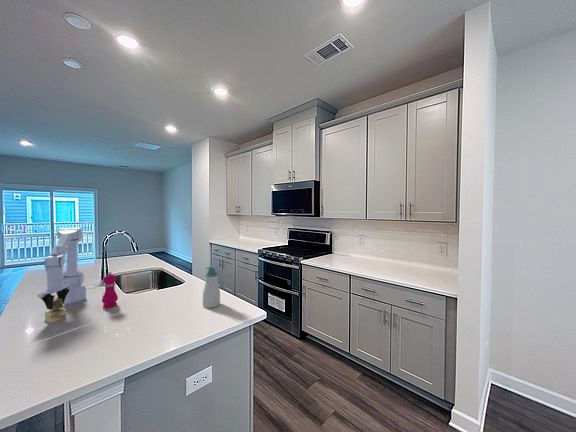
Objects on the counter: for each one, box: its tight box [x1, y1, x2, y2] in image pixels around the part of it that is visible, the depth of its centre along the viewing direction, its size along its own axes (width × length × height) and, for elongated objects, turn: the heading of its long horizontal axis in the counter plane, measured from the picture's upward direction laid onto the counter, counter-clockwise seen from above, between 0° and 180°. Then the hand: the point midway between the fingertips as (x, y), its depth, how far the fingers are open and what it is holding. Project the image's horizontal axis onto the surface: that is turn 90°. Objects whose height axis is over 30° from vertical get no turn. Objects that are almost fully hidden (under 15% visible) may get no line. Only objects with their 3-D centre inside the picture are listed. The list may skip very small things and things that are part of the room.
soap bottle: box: [202, 265, 221, 309], centre depth 143 cm, size 10×10×23 cm
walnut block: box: [49, 297, 64, 311], centre depth 123 cm, size 4×4×4 cm
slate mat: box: [43, 315, 68, 323], centre depth 127 cm, size 12×14×1 cm
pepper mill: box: [101, 271, 119, 309], centre depth 138 cm, size 7×7×20 cm
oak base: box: [44, 307, 67, 323], centre depth 123 cm, size 6×6×4 cm
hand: (55, 306), depth 123 cm, fingers closed on walnut block, 5 cm apart
